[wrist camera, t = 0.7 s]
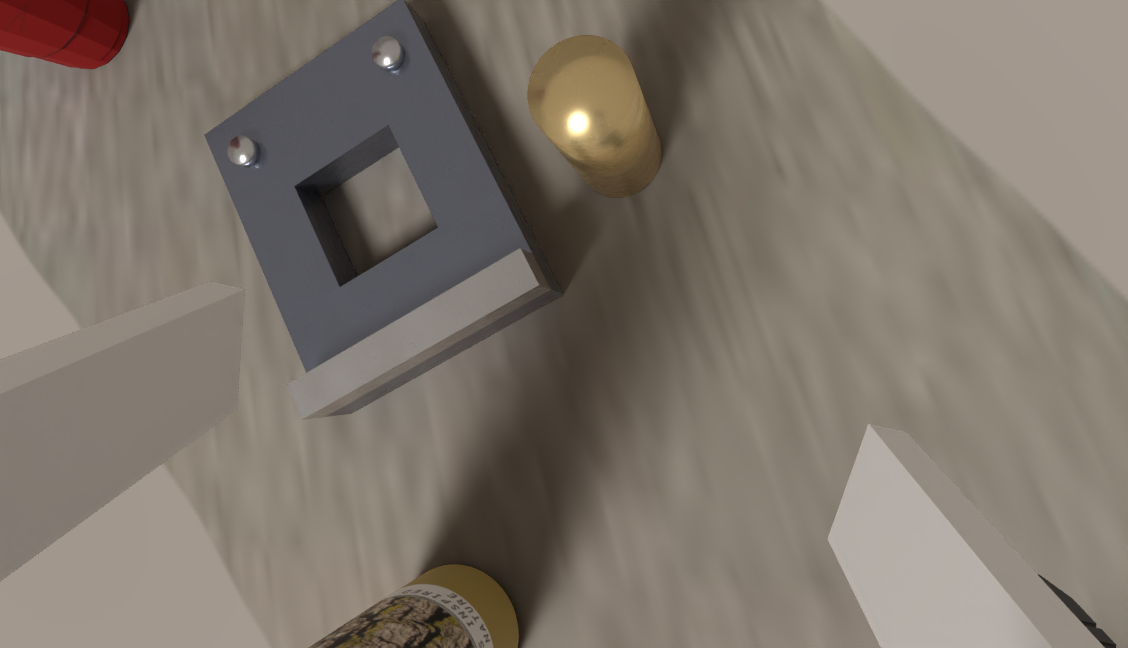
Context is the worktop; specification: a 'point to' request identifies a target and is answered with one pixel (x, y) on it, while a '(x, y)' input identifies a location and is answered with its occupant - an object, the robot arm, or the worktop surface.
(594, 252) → the worktop surface
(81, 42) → the plastic cup
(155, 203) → the worktop surface
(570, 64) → the brass cylinder
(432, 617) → the paper tube
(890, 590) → the robot arm
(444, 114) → the jig
